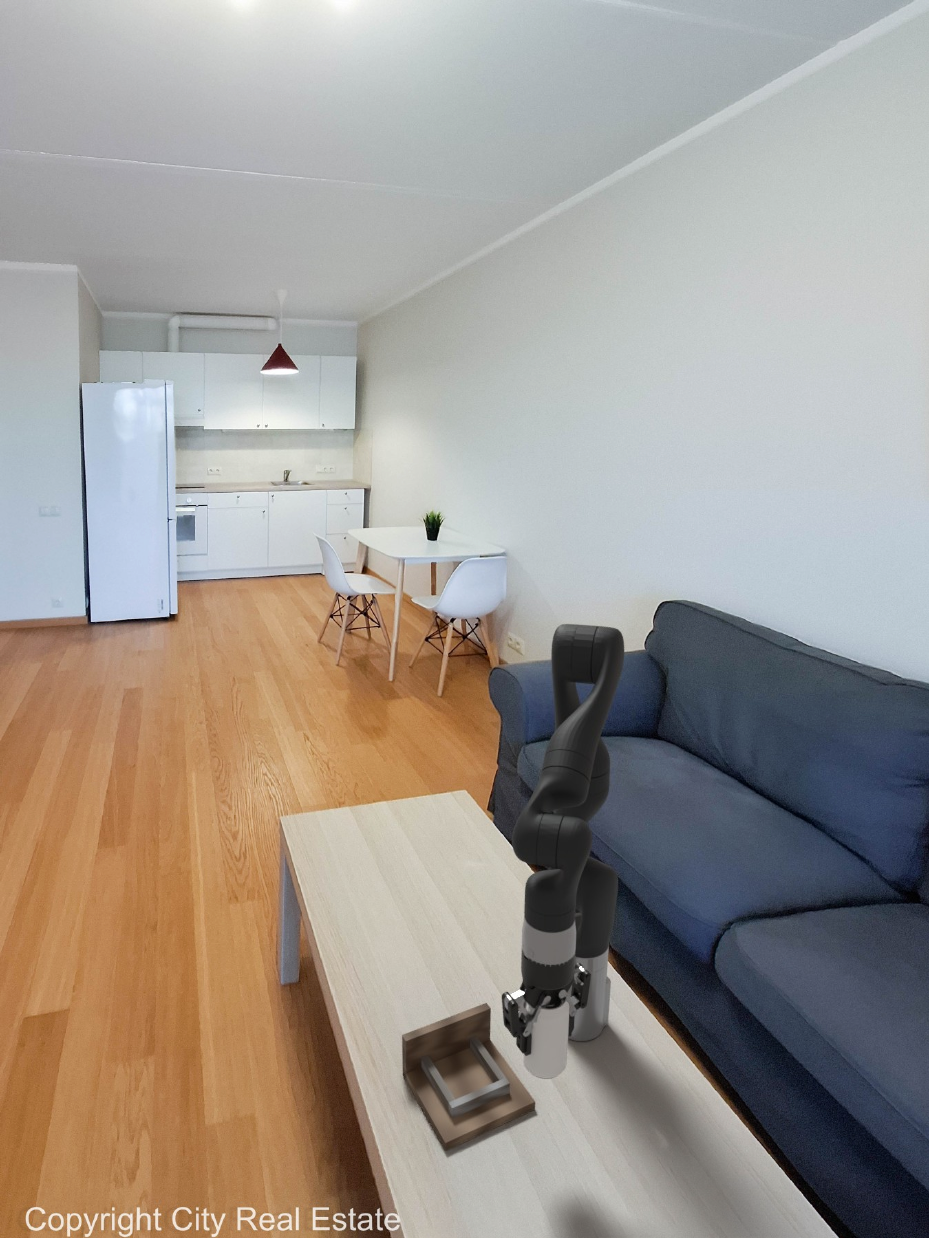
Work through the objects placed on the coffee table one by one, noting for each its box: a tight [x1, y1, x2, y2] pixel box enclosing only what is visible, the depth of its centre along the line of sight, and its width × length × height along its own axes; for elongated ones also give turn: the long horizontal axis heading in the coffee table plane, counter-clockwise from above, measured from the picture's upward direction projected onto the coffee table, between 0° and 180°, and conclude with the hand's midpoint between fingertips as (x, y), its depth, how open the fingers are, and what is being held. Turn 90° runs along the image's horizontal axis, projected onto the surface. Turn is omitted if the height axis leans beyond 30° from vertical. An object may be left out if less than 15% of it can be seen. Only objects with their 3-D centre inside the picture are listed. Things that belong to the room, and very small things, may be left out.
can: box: [522, 997, 569, 1080], centre depth 116 cm, size 6×6×12 cm
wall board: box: [401, 1002, 536, 1152], centre depth 130 cm, size 16×16×8 cm
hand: (545, 1041), depth 117 cm, fingers closed on can, 6 cm apart
